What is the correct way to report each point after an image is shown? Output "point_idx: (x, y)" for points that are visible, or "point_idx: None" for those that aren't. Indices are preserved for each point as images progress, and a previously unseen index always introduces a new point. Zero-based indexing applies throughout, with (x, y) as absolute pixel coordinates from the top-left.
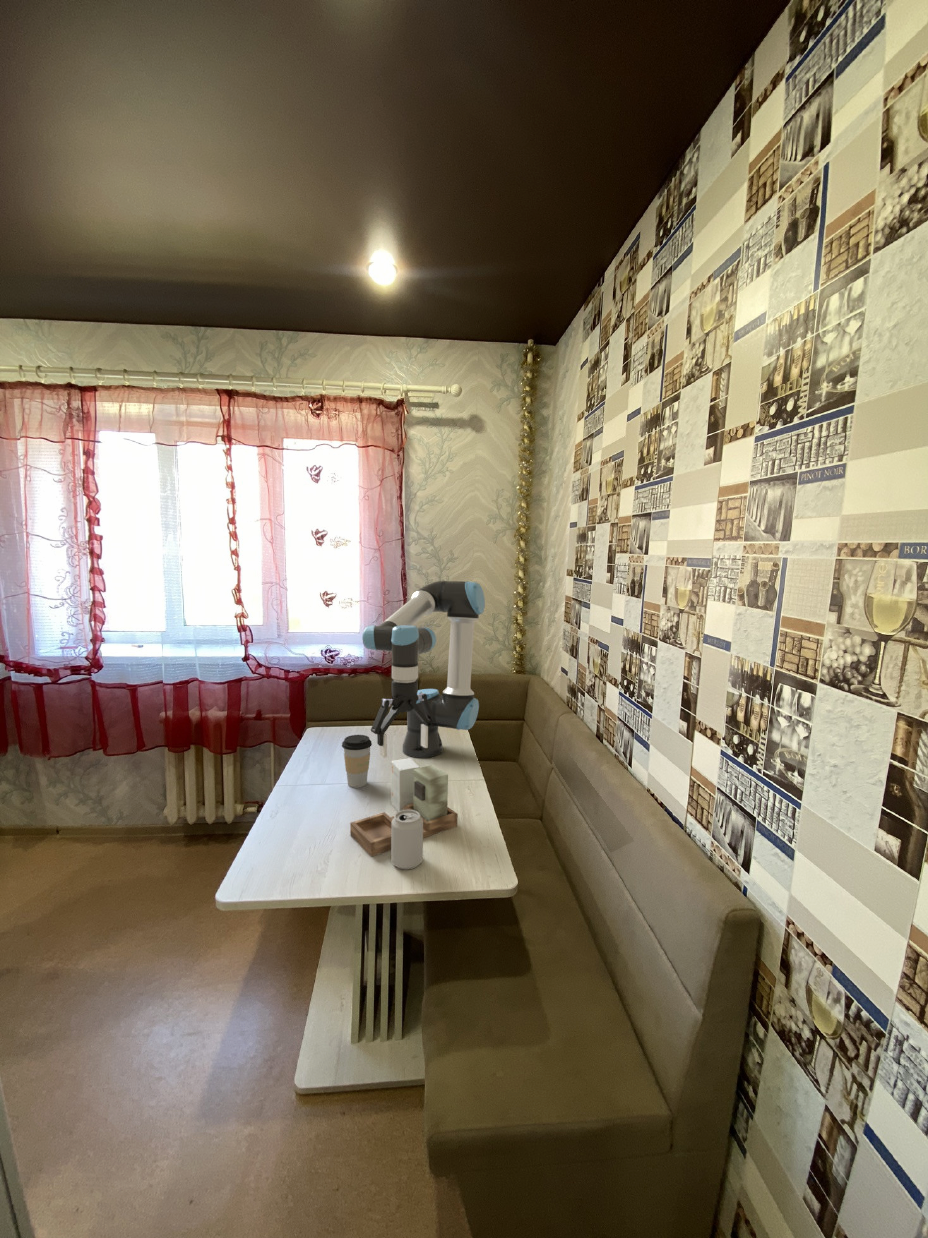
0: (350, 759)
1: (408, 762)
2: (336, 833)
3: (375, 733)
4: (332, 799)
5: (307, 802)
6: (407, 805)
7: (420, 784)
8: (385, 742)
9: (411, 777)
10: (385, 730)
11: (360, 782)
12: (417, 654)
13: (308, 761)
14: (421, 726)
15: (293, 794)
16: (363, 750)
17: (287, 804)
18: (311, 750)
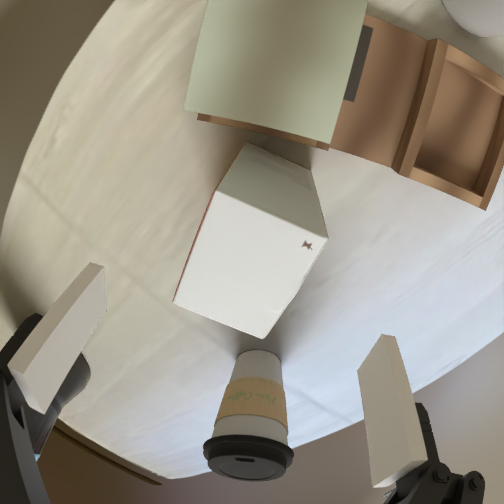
0: (286, 423)
1: (219, 275)
2: (473, 230)
3: (480, 475)
4: (354, 350)
5: None
6: (313, 144)
7: (359, 50)
8: (410, 413)
9: (269, 191)
10: (421, 493)
11: (266, 360)
12: None
13: None
14: (47, 401)
15: None
16: (255, 432)
17: (412, 380)
18: None
